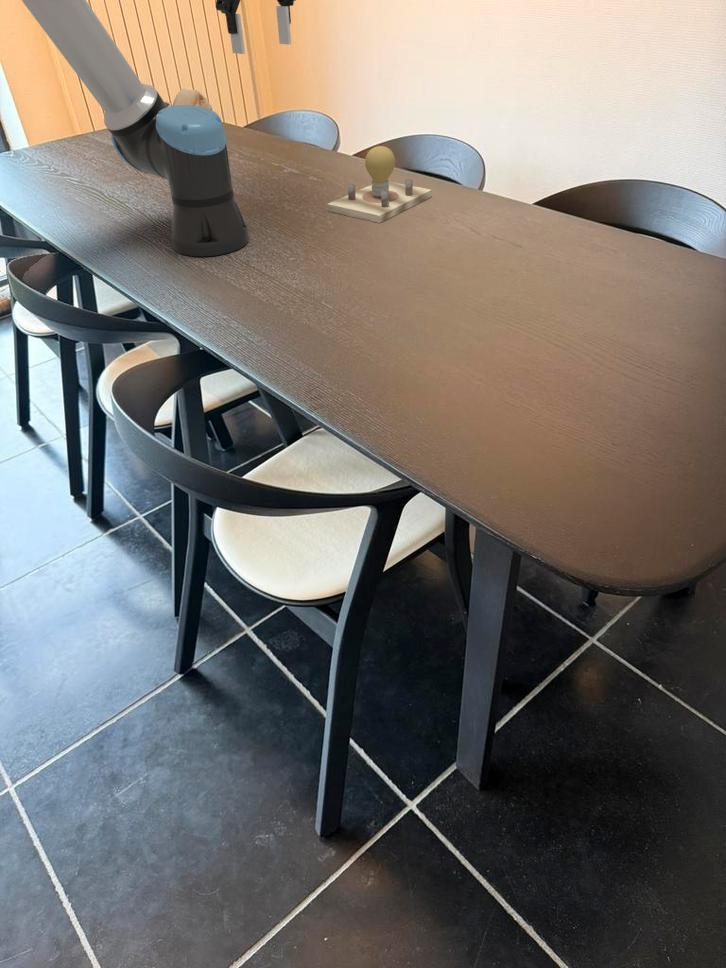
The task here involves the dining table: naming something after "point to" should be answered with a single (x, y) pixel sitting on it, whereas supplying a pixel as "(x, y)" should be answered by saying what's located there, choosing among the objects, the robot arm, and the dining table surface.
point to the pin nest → (379, 201)
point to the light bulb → (380, 168)
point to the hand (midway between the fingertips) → (262, 48)
